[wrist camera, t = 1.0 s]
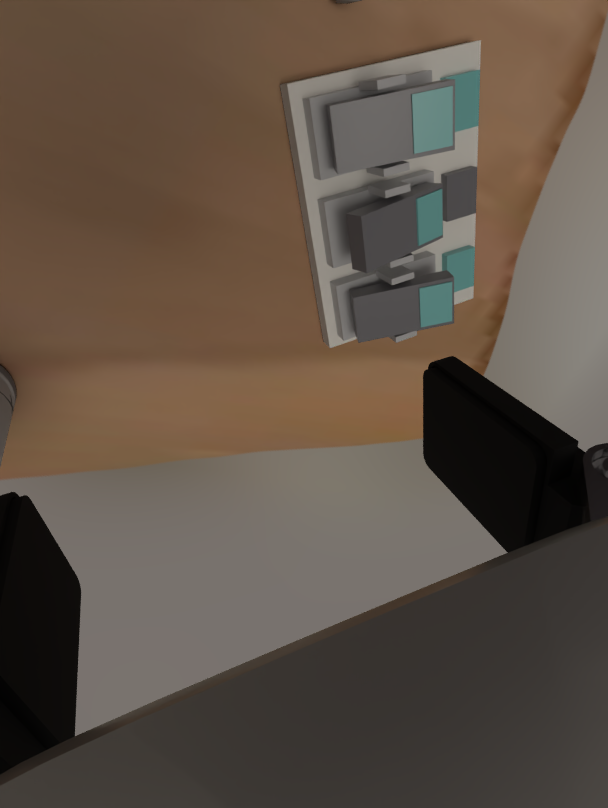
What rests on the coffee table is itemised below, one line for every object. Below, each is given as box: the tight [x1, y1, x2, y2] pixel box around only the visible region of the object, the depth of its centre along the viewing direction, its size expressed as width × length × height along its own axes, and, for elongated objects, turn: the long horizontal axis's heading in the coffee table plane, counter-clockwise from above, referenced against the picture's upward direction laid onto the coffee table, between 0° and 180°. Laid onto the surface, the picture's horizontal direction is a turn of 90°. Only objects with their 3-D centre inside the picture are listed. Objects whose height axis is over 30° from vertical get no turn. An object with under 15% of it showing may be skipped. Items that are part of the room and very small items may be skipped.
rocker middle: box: [346, 182, 443, 273], centre depth 36 cm, size 4×8×2 cm, turn 101°
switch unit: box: [280, 40, 481, 348], centre depth 38 cm, size 20×15×5 cm
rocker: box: [349, 270, 454, 343], centre depth 40 cm, size 4×8×2 cm, turn 101°
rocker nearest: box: [326, 79, 455, 174], centre depth 32 cm, size 4×8×2 cm, turn 101°
